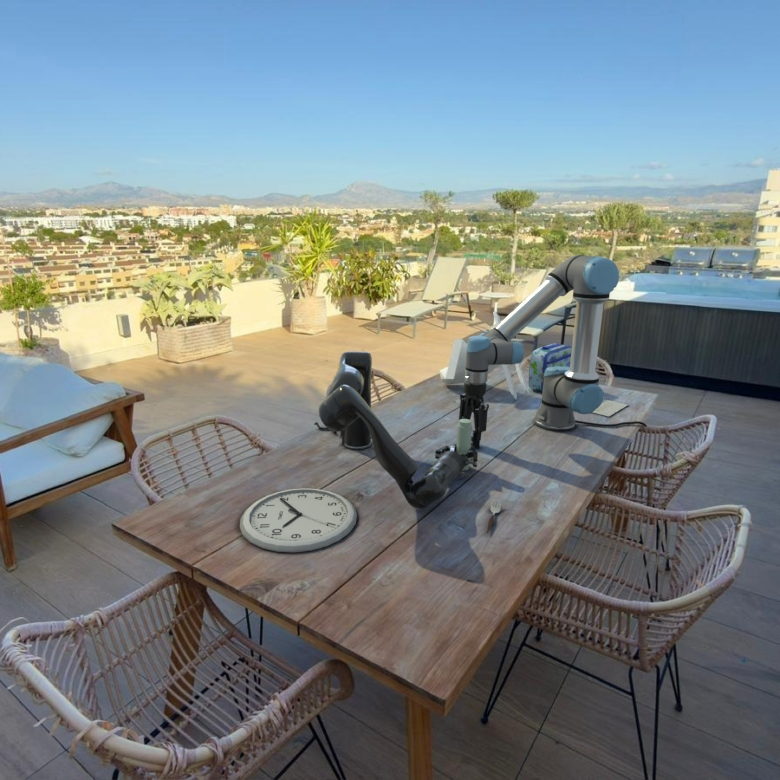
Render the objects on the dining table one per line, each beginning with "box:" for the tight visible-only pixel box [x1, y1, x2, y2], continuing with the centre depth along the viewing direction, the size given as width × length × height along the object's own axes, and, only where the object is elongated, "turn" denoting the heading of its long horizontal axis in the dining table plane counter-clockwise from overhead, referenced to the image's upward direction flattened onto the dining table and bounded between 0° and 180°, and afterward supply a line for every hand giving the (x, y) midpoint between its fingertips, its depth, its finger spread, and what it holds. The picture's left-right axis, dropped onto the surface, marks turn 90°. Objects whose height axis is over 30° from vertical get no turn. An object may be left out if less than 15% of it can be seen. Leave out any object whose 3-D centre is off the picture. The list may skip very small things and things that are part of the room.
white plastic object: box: [438, 310, 531, 400], centre depth 245 cm, size 37×45×31 cm
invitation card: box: [592, 398, 629, 418], centre depth 226 cm, size 21×1×15 cm
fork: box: [486, 498, 503, 534], centre depth 137 cm, size 3×16×2 cm, turn 160°
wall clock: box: [239, 487, 358, 553], centre depth 136 cm, size 30×2×30 cm
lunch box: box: [528, 343, 572, 392], centre depth 249 cm, size 26×11×21 cm, turn 134°
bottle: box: [456, 419, 473, 472], centre depth 164 cm, size 4×4×16 cm
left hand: (465, 447), depth 167 cm, fingers closed on bottle, 4 cm apart
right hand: (470, 445), depth 184 cm, fingers closed on lid, 5 cm apart
